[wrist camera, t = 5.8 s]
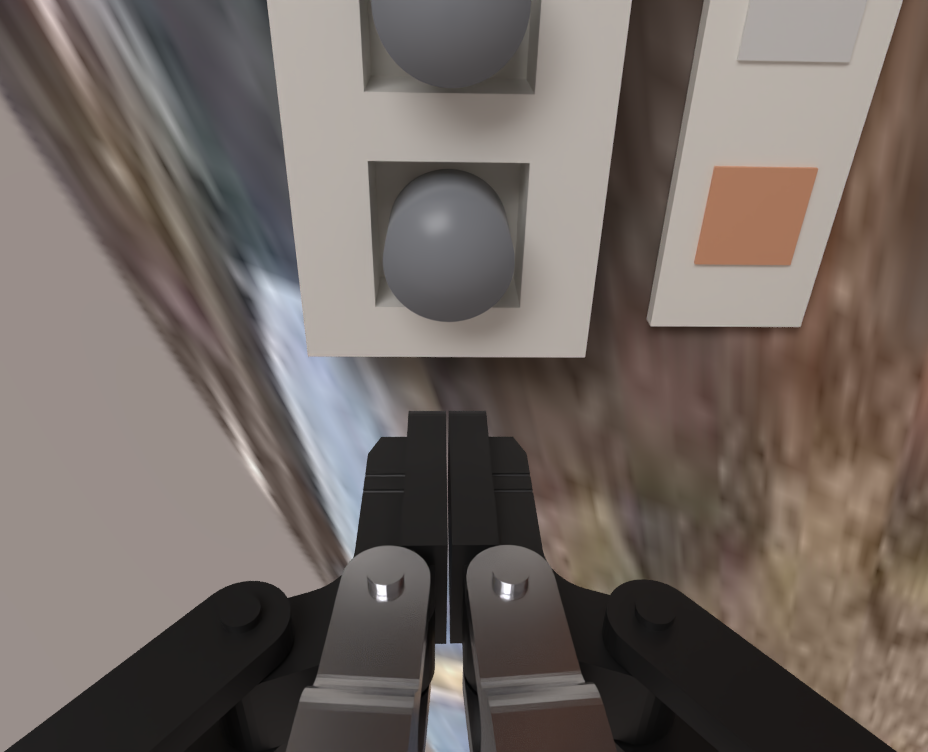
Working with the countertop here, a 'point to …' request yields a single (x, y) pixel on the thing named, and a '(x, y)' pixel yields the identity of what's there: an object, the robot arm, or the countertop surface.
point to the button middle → (451, 37)
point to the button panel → (447, 147)
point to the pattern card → (764, 156)
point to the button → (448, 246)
